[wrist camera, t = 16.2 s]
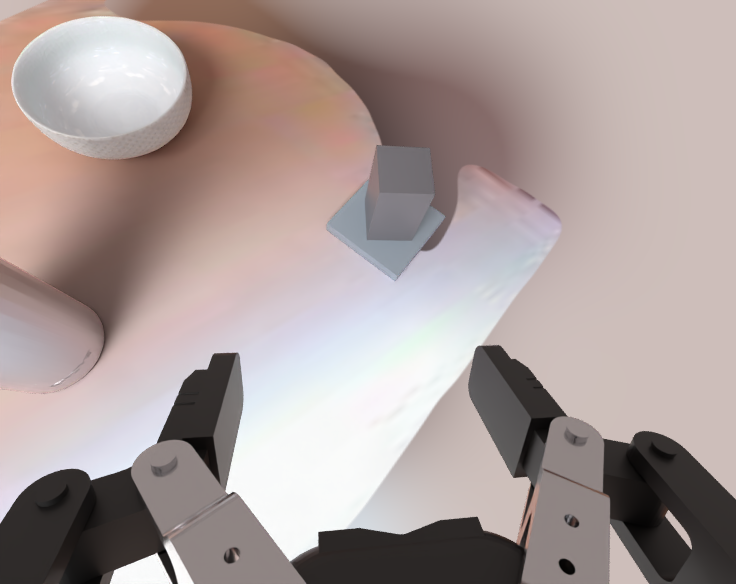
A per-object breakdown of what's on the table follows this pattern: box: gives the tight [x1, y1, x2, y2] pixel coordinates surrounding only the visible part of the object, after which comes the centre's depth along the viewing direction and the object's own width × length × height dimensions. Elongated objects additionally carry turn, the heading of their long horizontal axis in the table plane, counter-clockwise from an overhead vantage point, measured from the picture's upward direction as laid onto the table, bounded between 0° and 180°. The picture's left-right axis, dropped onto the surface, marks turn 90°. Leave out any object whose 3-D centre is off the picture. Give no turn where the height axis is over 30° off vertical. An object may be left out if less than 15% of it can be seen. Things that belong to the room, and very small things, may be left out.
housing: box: [365, 145, 435, 241], centre depth 42 cm, size 5×5×10 cm
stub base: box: [327, 180, 446, 281], centre depth 45 cm, size 10×10×6 cm
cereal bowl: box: [12, 16, 192, 159], centre depth 45 cm, size 17×17×7 cm
